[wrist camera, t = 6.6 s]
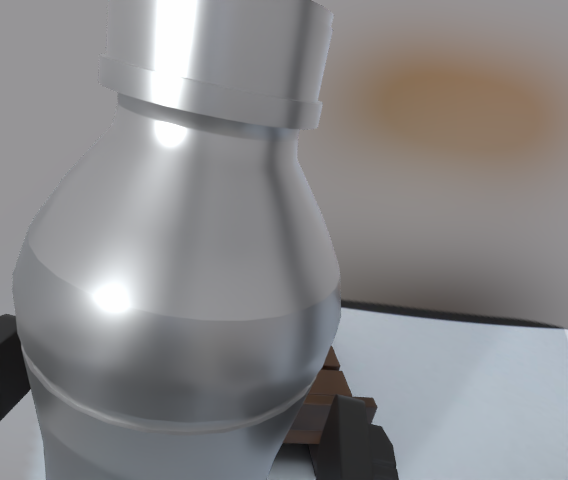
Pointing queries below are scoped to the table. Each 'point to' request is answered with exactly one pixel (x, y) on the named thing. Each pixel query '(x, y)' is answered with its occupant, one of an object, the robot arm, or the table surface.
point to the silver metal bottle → (184, 251)
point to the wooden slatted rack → (322, 406)
